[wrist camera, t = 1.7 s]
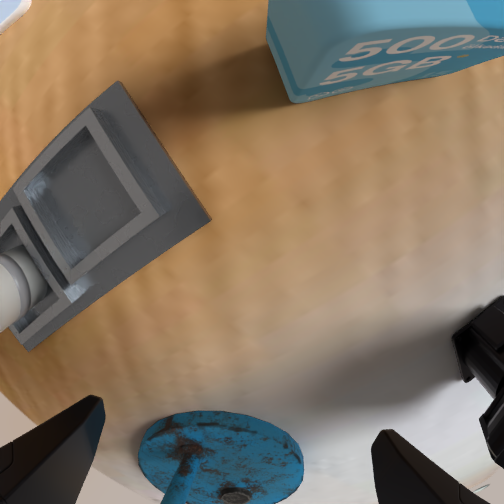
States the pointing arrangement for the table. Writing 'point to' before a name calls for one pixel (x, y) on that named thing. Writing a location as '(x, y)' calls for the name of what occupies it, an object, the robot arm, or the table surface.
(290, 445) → the desk lamp
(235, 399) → the table surface
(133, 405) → the table surface
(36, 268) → the plug
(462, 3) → the data package
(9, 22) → the calculator
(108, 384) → the table surface
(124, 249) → the panel
